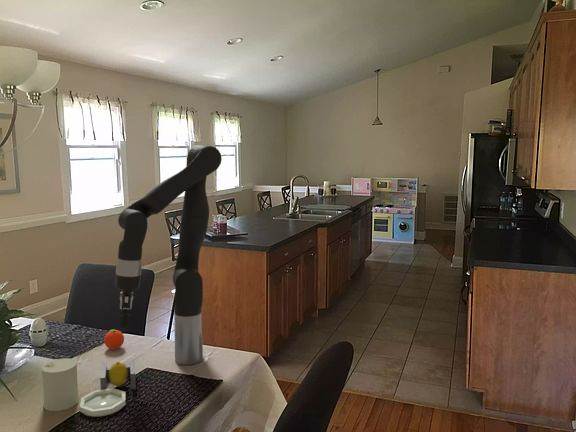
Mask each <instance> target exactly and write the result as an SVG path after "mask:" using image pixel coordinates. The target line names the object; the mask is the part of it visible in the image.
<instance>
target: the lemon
mask: <svg viewBox="0 0 576 432" xmlns="http://www.w3.org/2000/svg"><path fill="white" fill-rule="evenodd" d="M126 366H127V365H126V364H125V363H122V362H120V361H117V362H115V363H113V365H111V366H110V367H109V368H110V370H109V379H108V380H109V383H111V385H113V386H116V387H117V388H119V387H121V386H122V385H124V384H125V383H126V381H127V379H128V377H129V376H128V371H127V368H126Z"/></svg>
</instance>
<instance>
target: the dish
mask: <svg viewBox="0 0 576 432" xmlns="http://www.w3.org/2000/svg"><path fill="white" fill-rule="evenodd" d="M125 406H126V391H125V390H124V391H123V390H120V389H117V388H114V387H113V388H112V387H111V388H110V387H109V388H106V389H102V390H101V389H97V390H93V391H91V392H90V393H88V394H86V395H85V396H83V397H81V398H80V404H79V412H80V413H82V414H83V415H85V416H87V417H93V418H96V417H100V418H101V417H105V416H109V415H112V414H115V413H117V412H118V411H120V410H121V409H123V408H124V407H125Z"/></svg>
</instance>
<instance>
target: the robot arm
mask: <svg viewBox="0 0 576 432" xmlns="http://www.w3.org/2000/svg"><path fill="white" fill-rule="evenodd" d="M221 163H222V154H221V151H220V150H219V149H218V148H217V147H215V146H213V145H208V144H207V145H205V144H196V145H193V146H191V148H190V149H189V150H188V153H187V156H186V166H185V167H184V168H183V169H182V170H180V171H179V172H177V173H175V174H174V175H171V176H169V177H168V178H166V179H164V180H163V181H162V182H160V183H159V184H157V185H156V186H155V187H153V188H152V189H151V190H150V191H149V192H148V193H145V195H144V196H143V197H141V198H140V199H138V200H136V201H135V202H133V203H132V204H130V205H128V206H127V207H125V208H124V209H123V210H122V211H121V212H120V214H119V215H118V220H117V221H118V222H117V223H118V225H119V227H120V228H121V229H122V230H124V233H123V238H122V240H121V241H120V242H119V245H118V251H117V252H118V254H117V262H116V266H115V267H116V268H115V279H114V287H115V288H116V289H118V290H122V291H121V292H120V293H119V301H120V303H119V309H120V311H121V312H120V316H121V318H120V328H121V329H122V328H126V329H127V328H128V327H129V321H130V320H129V319H130V316H131V313H130V312H131V309H132V307H133V301H134V292H132V291H133V290H138V289H139V288H140V287H141V279H142V278H141V277H142V259H143V258H142V255H143V244H144V242H145V238H146V236H147V231H148V218H149V217H151V216H153V215H158V214H159V213H161V212H162V211H163V210H165V209H166V208H167V207H168V206H169V205H170V204H171V203H172V202H173V201H174V200H176V199H177V198H178V197H179V196H181V195H182V194H183V193H184V196H183V204H182V211H181V216H180V217H181V218H180V223H179V224H180V225H179V238H178V239H179V240H178V251H177V252H178V253H177V257H176V261H175V266H174V270H173V274H172V284H173V285H174V294H175V296H174V297H175V298H174V299H175V301H174V302H175V303H174V306H173V310H174V311H173V320H174V323H173V325H174V327H173V328H174V361H175V363H176V364H178V365H182V366H190V365H194V364H195V365H196V364H199V362H203V361H204V354H203V353H204V349H203V348H204V347H203V344H204V343H203V340H204V337H203V333H202V330H203V329H202V307H203V299H204V298H203V297H204V296H203V295H204V293H203V291H204V290H203V289H204V287H203V286H204V285H203V283H204V282H203V277H202V276H201V275H202V274H201V273H200V272H199V259H200V253H201V252H200V251H201V248H202V245H203V244H204V240H205V238H206V235H207V233H208V226H209V221H210V220H209V217H210V206H209V202H208V201H209V200H208V196H207V191H206V189H207V188H206V186H207V185H206V183H207V176H209V175H211V174H213V173H214V172H215V171H216V170H218V169H219V167H220V166H221Z"/></svg>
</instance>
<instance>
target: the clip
mask: <svg viewBox="0 0 576 432" xmlns="http://www.w3.org/2000/svg"><path fill="white" fill-rule="evenodd" d="M135 360H136V359H135V358H134V359H133V358H132V359H130V360H129V364H130V365H125V366H126V368H127V371H128V376H127V377H130V390H136V389H137V385H136V384H137V383H136V380H137V379H136V378H137V377H136V361H135ZM107 367H108V365H107V362H101V367H100V368H101V369H100V375H99V377H100V379H99V380H100V381H99V382H100V390H102V389H107V382H108V380H109V370H110V368H111V367H108V368H107Z"/></svg>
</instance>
